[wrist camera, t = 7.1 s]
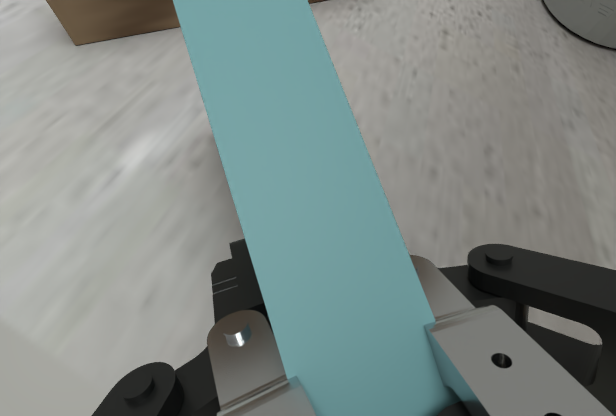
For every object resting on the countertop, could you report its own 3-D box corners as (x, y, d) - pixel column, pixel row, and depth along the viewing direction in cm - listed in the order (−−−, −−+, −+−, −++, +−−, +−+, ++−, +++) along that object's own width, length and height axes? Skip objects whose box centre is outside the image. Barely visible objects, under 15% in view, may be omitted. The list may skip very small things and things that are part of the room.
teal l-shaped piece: (352, 373, 14) (509, 505, 5) (294, 397, 14) (351, 590, 5) (255, 88, 17) (243, -159, 8) (203, 100, 16) (127, -148, 7)
